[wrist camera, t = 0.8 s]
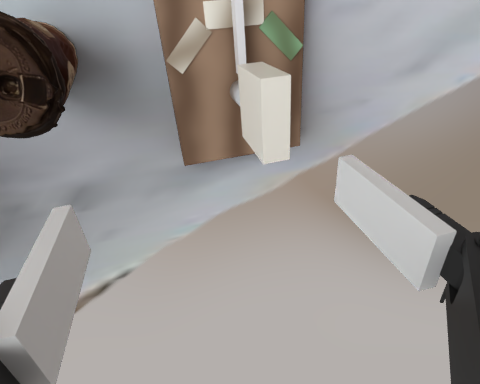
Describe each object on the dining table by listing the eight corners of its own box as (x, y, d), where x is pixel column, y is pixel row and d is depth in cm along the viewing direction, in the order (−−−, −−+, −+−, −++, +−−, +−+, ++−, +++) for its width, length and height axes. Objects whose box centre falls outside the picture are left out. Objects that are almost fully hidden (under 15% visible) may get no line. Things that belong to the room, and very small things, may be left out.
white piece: (232, 122, 36) (263, 164, 26) (221, -4, 29) (257, -11, 20) (252, 119, 36) (289, 159, 27) (245, -6, 30) (292, -14, 20)
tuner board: (182, 157, 39) (184, 166, 37) (123, -159, 25) (121, -176, 22) (292, 138, 42) (300, 146, 40) (297, -157, 27) (311, -172, 25)
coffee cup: (110, 67, 32) (91, 97, 22) (54, 118, 33) (9, 170, 23) (33, -14, 28) (-40, -28, 17) (-29, 48, 29) (-136, 71, 18)
